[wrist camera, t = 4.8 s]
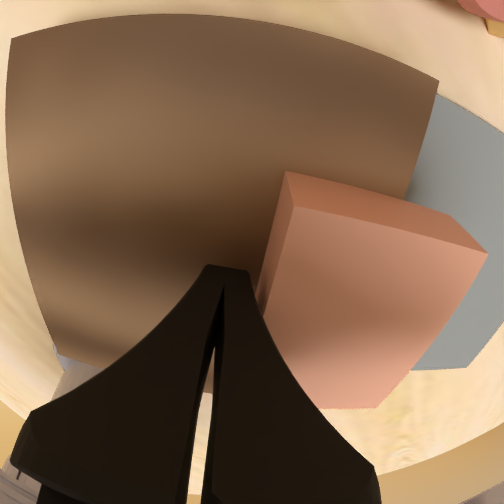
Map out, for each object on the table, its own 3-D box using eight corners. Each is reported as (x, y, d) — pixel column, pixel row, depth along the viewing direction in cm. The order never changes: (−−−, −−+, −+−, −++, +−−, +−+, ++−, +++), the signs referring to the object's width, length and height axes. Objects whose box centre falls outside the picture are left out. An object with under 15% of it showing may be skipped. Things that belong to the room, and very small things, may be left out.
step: (296, 361, 17) (299, 402, 15) (78, 319, 16) (58, 354, 14) (398, 77, 9) (439, 80, 6) (57, 39, 8) (11, 38, 5)
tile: (365, 364, 13) (376, 407, 11) (240, 353, 12) (236, 402, 10) (449, 215, 9) (488, 254, 6) (285, 170, 8) (294, 205, 6)
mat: (464, 363, 18) (466, 367, 18) (311, 362, 17) (312, 367, 17) (567, 188, 10) (570, 191, 10) (419, 87, 9) (424, 87, 9)
